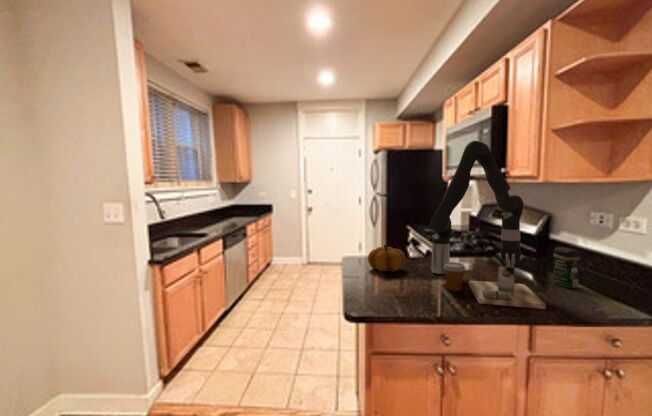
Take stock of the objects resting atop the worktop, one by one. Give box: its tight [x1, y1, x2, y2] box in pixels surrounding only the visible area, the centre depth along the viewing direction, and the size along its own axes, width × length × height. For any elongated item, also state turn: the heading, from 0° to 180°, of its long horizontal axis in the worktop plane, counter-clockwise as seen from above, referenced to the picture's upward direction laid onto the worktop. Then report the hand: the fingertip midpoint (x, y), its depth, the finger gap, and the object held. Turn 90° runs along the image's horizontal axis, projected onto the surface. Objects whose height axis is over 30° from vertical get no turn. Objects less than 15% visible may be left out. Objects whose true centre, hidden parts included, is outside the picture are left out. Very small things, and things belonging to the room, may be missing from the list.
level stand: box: [468, 280, 547, 310], centre depth 132 cm, size 24×24×5 cm
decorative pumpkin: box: [367, 244, 406, 273], centre depth 174 cm, size 20×22×15 cm
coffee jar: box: [552, 246, 581, 289], centre depth 142 cm, size 10×8×19 cm
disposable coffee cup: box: [444, 261, 466, 292], centre depth 140 cm, size 10×10×12 cm
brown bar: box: [497, 265, 515, 296], centre depth 133 cm, size 19×6×10 cm, turn 156°
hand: (510, 275), depth 137 cm, fingers closed
